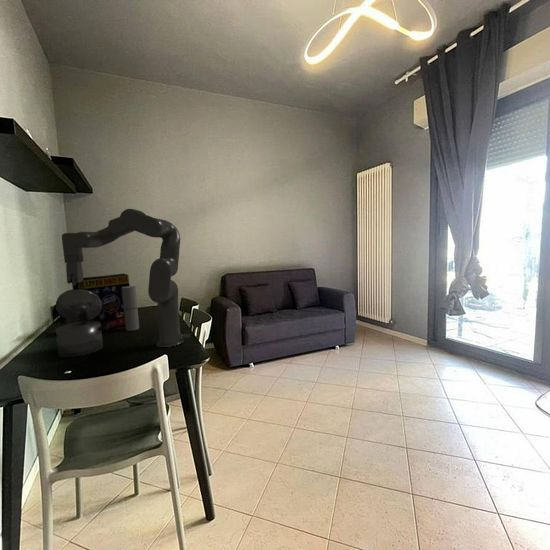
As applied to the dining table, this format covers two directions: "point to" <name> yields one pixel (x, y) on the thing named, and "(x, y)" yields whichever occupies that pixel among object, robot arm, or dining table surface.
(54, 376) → the dining table surface
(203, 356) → the dining table surface
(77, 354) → the cooker pot
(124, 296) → the cylindrical container
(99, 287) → the cereal box
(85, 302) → the cooker lid
